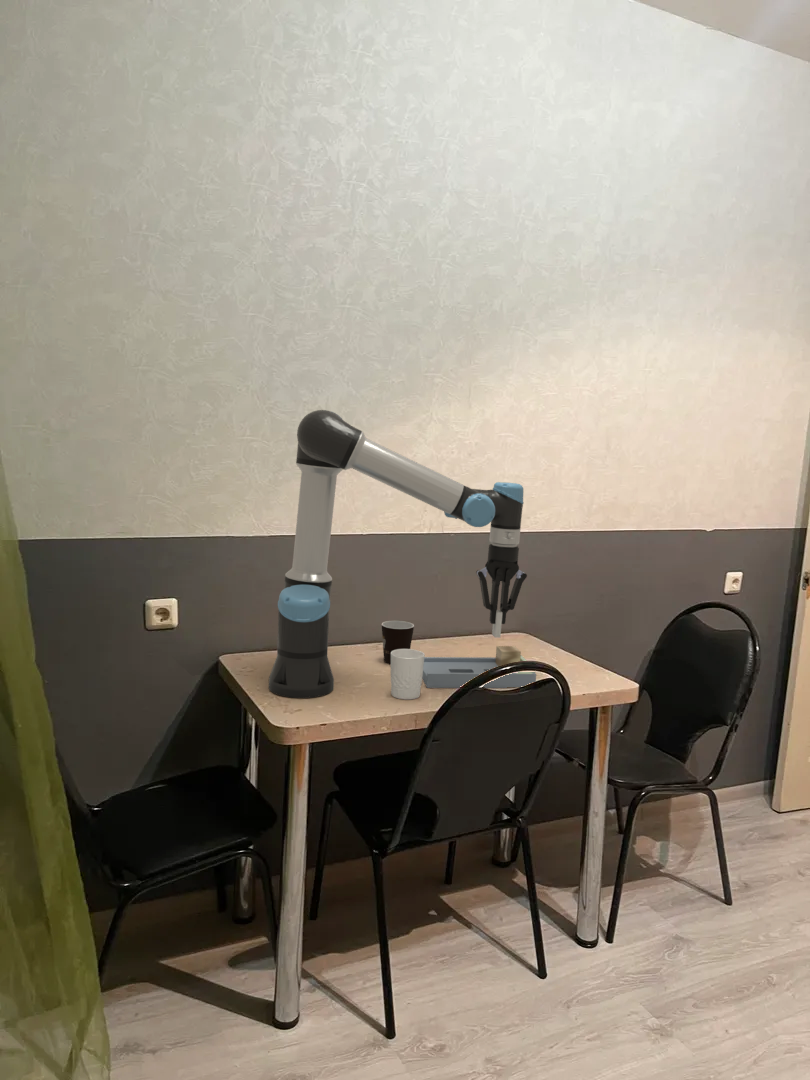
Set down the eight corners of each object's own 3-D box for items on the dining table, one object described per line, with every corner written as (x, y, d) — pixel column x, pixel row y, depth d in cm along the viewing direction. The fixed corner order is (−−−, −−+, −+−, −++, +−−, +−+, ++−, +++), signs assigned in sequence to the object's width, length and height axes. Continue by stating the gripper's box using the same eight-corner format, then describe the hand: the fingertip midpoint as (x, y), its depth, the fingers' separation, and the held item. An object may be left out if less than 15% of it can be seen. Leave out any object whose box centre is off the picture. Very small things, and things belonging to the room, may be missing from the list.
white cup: (410, 687, 194) (412, 647, 192) (429, 697, 187) (431, 656, 186) (382, 692, 190) (384, 650, 188) (400, 702, 183) (402, 659, 182)
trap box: (427, 687, 194) (428, 669, 194) (417, 670, 208) (418, 653, 207) (535, 687, 198) (536, 670, 198) (518, 670, 212) (520, 653, 211)
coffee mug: (408, 667, 210) (410, 630, 208) (376, 664, 211) (378, 627, 210) (417, 655, 221) (418, 620, 219) (386, 652, 223) (388, 617, 221)
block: (500, 668, 204) (501, 651, 204) (495, 662, 209) (496, 645, 209) (519, 668, 205) (520, 651, 204) (514, 662, 210) (515, 646, 209)
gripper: (482, 545, 198) (474, 639, 201) (533, 548, 200) (525, 640, 203) (475, 541, 205) (467, 631, 208) (524, 543, 207) (516, 633, 210)
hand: (496, 636), depth 206 cm, fingers closed
